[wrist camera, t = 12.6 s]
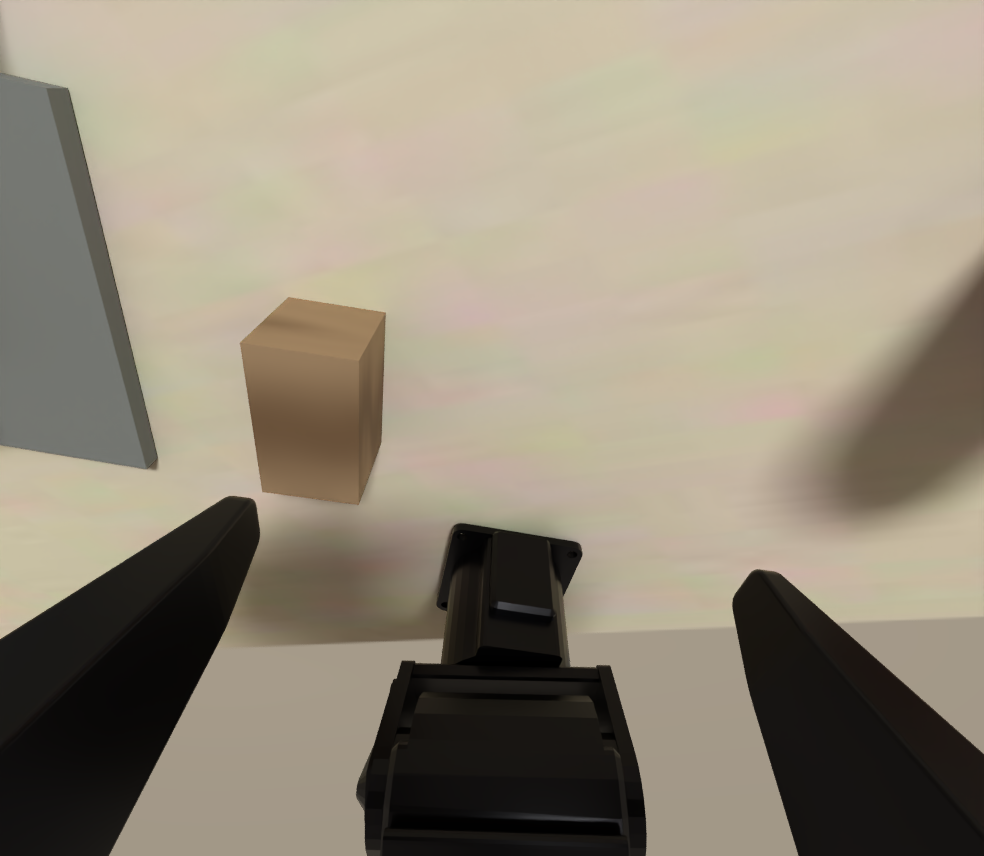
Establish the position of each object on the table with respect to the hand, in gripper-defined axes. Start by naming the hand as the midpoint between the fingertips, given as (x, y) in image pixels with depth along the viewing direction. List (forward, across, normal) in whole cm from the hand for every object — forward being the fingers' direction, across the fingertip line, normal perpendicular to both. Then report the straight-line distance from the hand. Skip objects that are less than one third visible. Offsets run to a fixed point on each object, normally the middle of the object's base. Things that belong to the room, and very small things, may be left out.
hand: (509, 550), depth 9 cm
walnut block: (+11, +6, +4) cm, 13 cm away
